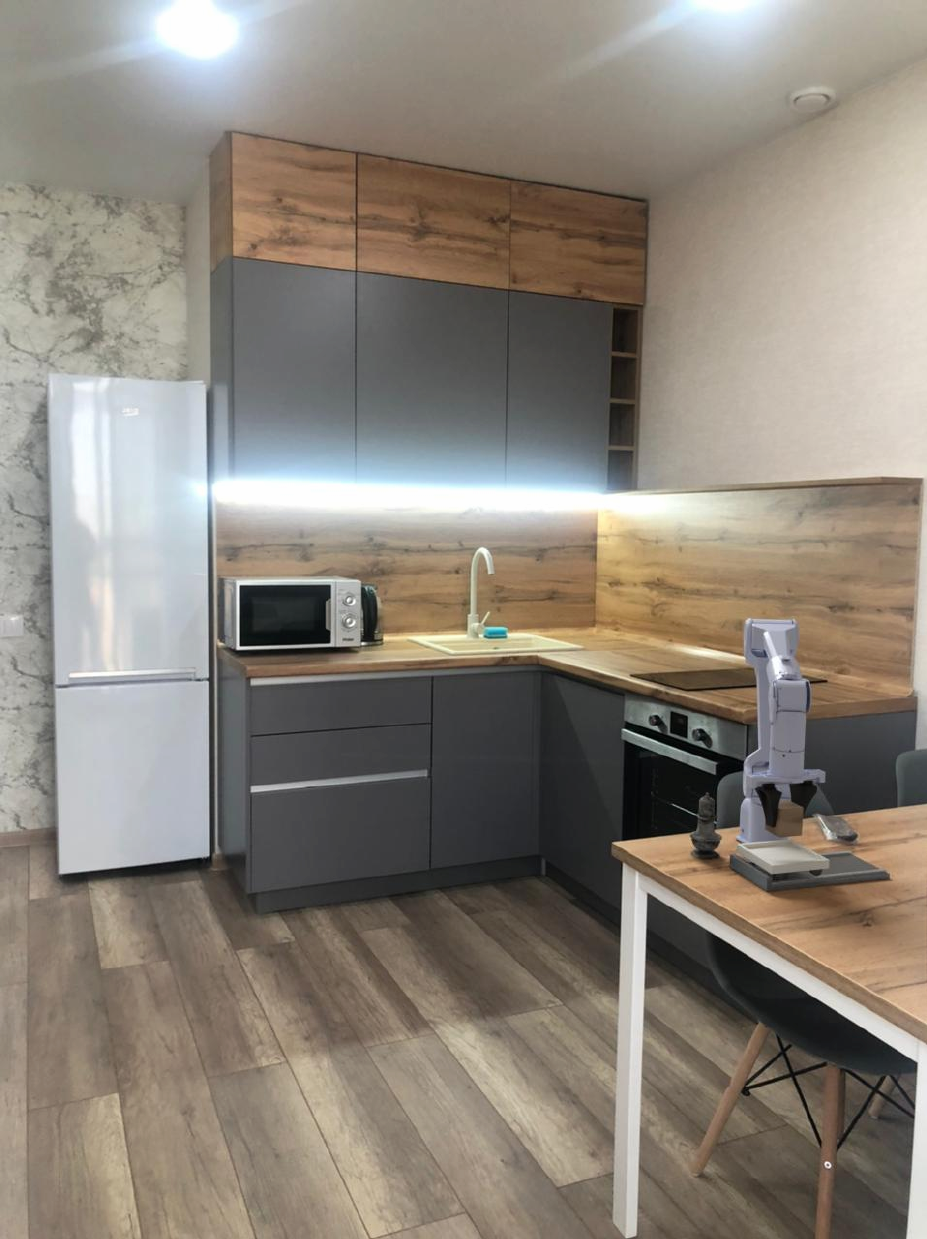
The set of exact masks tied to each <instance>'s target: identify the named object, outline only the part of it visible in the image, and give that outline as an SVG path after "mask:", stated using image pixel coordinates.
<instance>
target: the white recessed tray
mask: <svg viewBox="0 0 927 1239" xmlns="http://www.w3.org/2000/svg"><path fill="white" fill-rule="evenodd" d="M736 853H737V854H739V855H741V856H742V857H743V859H745V860H746V861H748V860H749V861H751V862H753V863H755V864H756V865H758V866H759V867H761V868H763V869H764V870H766V871H767V872H769V873H771V874H773V875H774V877H776V878H777V879H779V880H783V879H784V878H785V877H786V875H787V873H789V872H799V871H809V872H810V873H811V874H813V875H814V876H819V875H820V874H821V873H822V869H829V859H827V858H825V857H823V856H821V855H819V854H820V853H817V852H816V851H814V850H812V849H810V848H809V847H807V846H804V844H801V843H799V842H798V841H796V840H794V839H791V838H788V840H777V841H766V842H755V843H737V844H736Z"/></svg>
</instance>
